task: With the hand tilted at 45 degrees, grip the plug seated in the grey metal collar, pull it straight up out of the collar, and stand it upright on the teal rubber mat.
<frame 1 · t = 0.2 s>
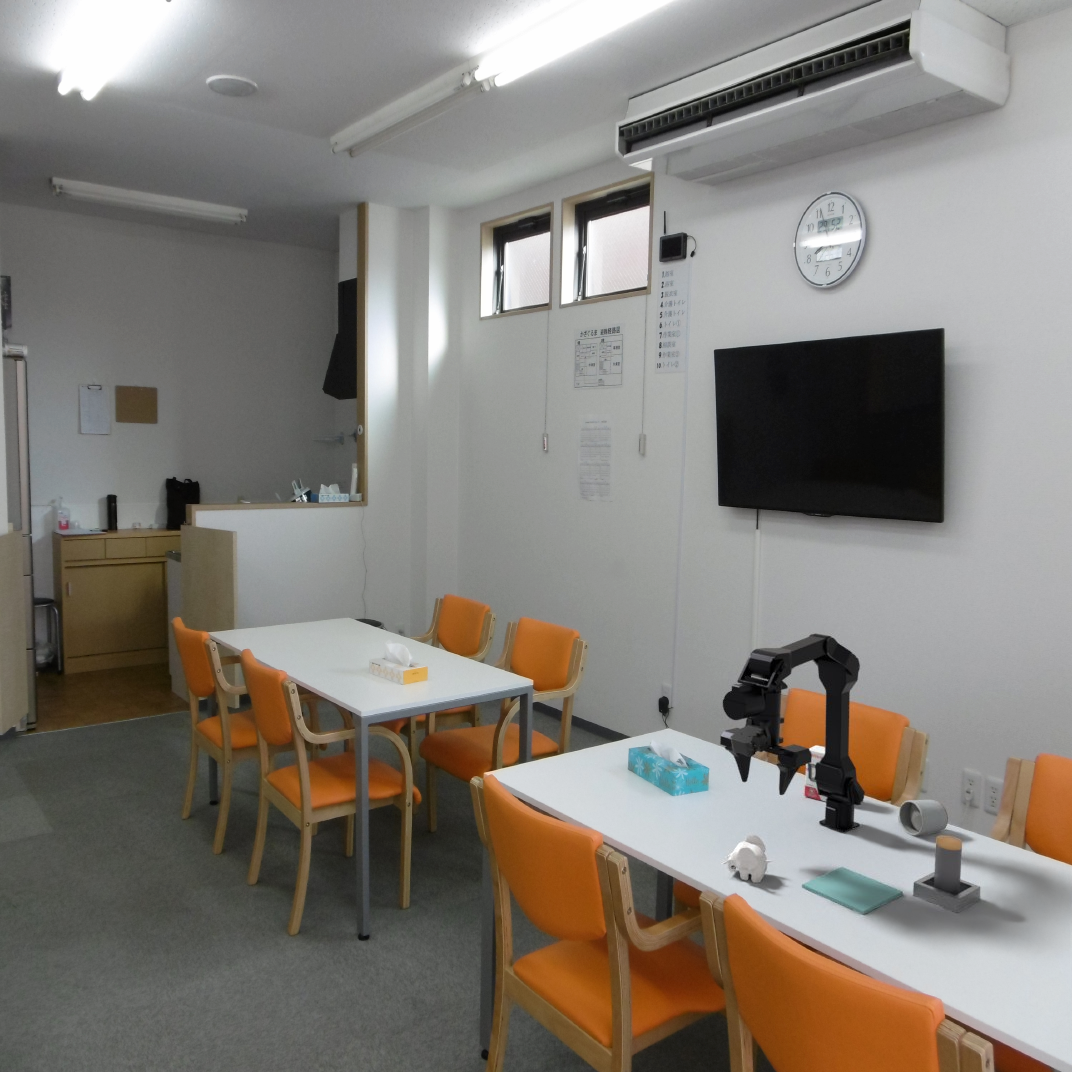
hand: (762, 788, 184), 15 cm above the table, tool pointing down, fingers open, 9 cm apart
teal mat: (852, 890, 171), on the table
collar: (946, 897, 169), on the table
plug: (947, 868, 168), in the collar
ceramic mug: (918, 831, 201), on the table
ink box: (824, 799, 219), on the table
elephant figurine: (746, 876, 177), on the table
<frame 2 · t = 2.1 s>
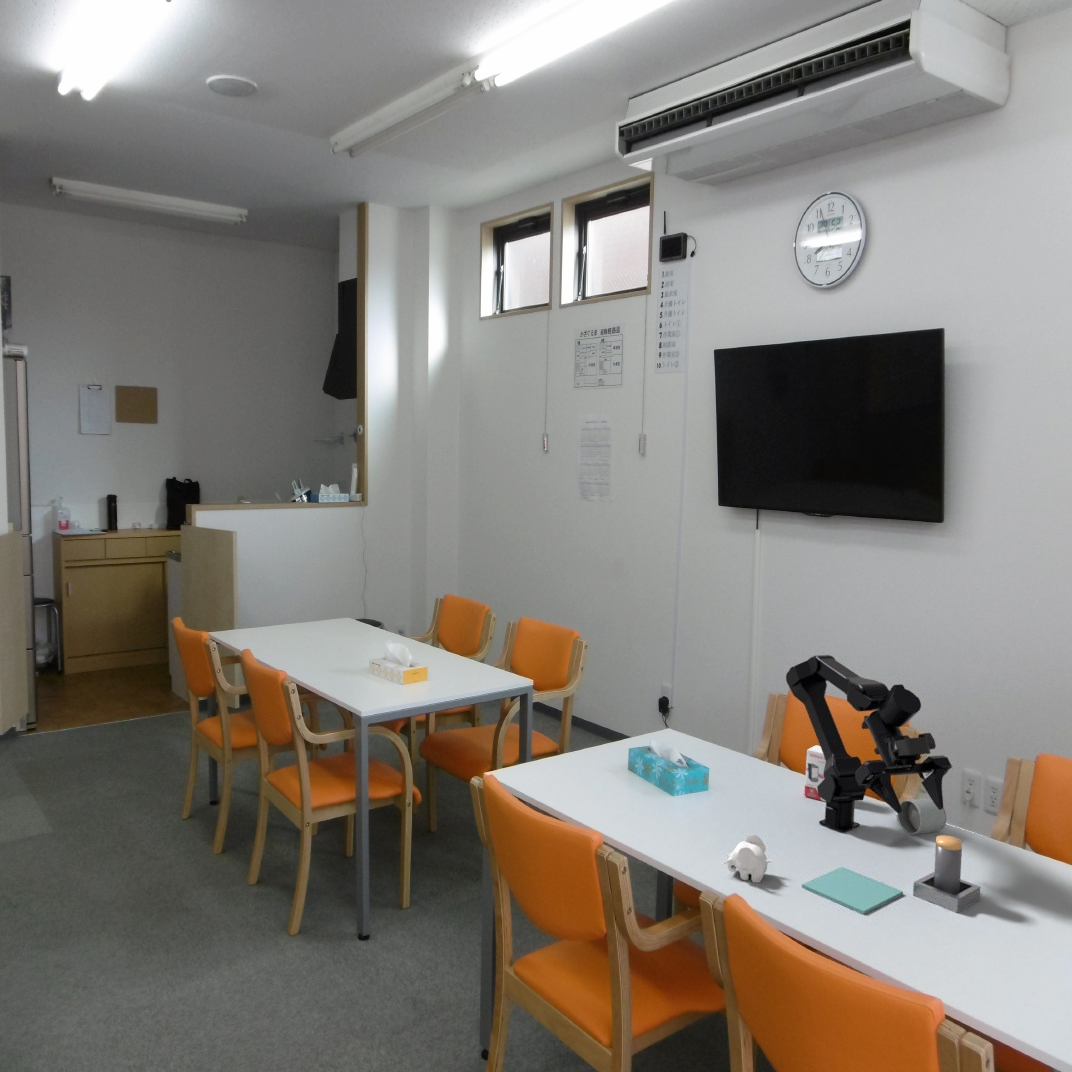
hand: (920, 810, 176), 13 cm above the table, tool tilted 45°, fingers open, 9 cm apart
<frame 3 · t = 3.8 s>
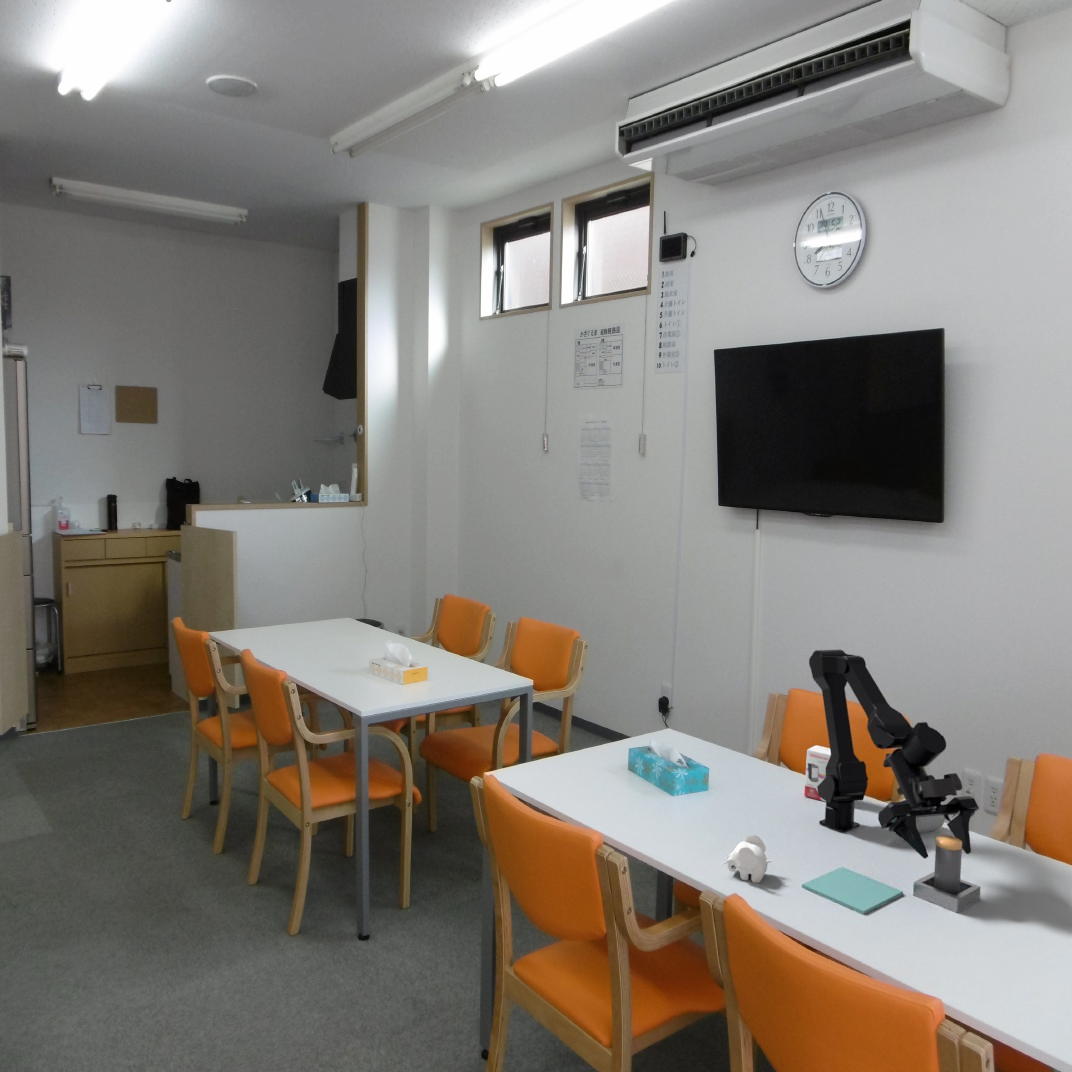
hand: (947, 855, 168), 8 cm above the table, tool tilted 45°, fingers open, 9 cm apart
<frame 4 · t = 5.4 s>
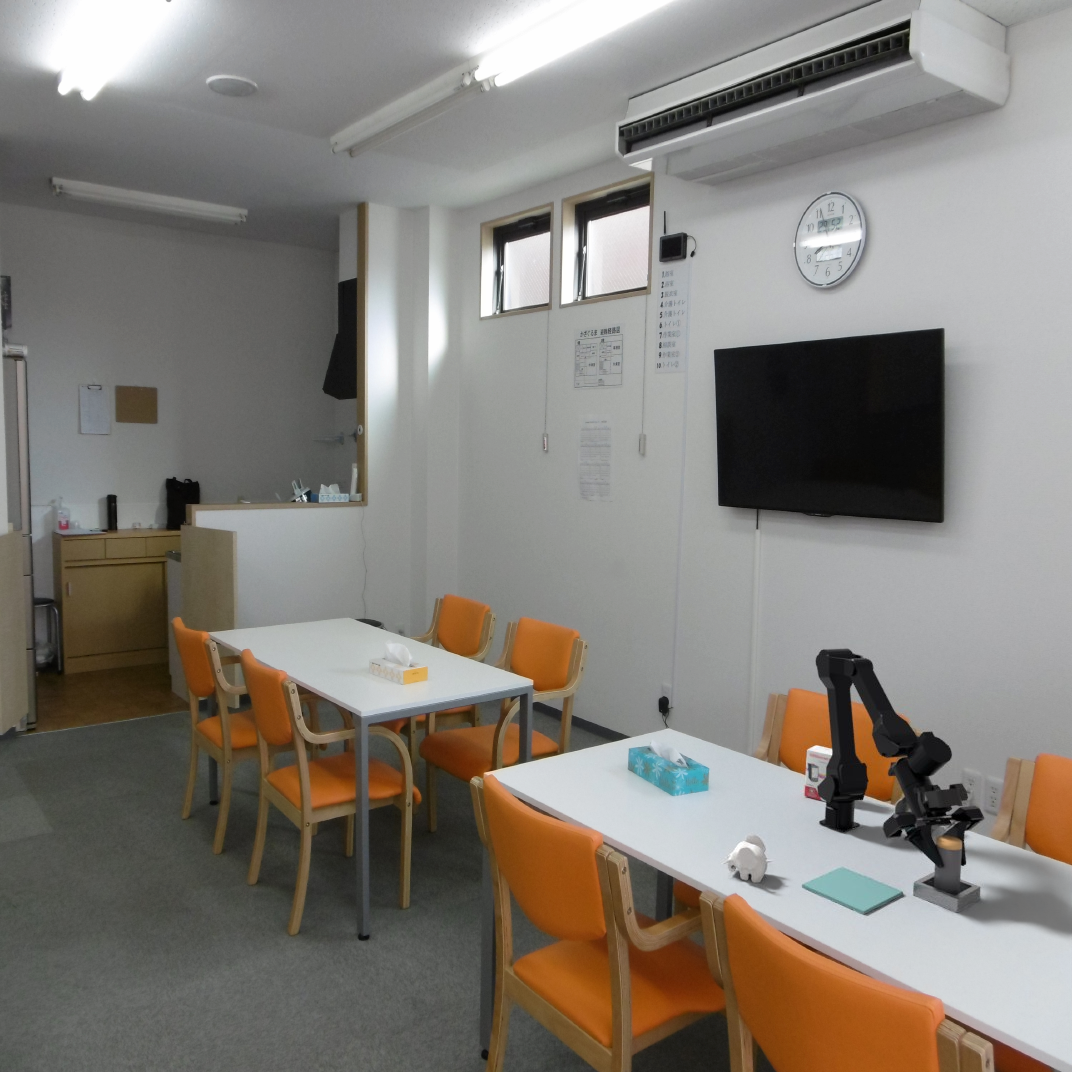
hand: (953, 866, 167), 7 cm above the table, tool tilted 45°, fingers closed on plug, 4 cm apart
plug: (947, 868, 168), in the collar, touching gripper
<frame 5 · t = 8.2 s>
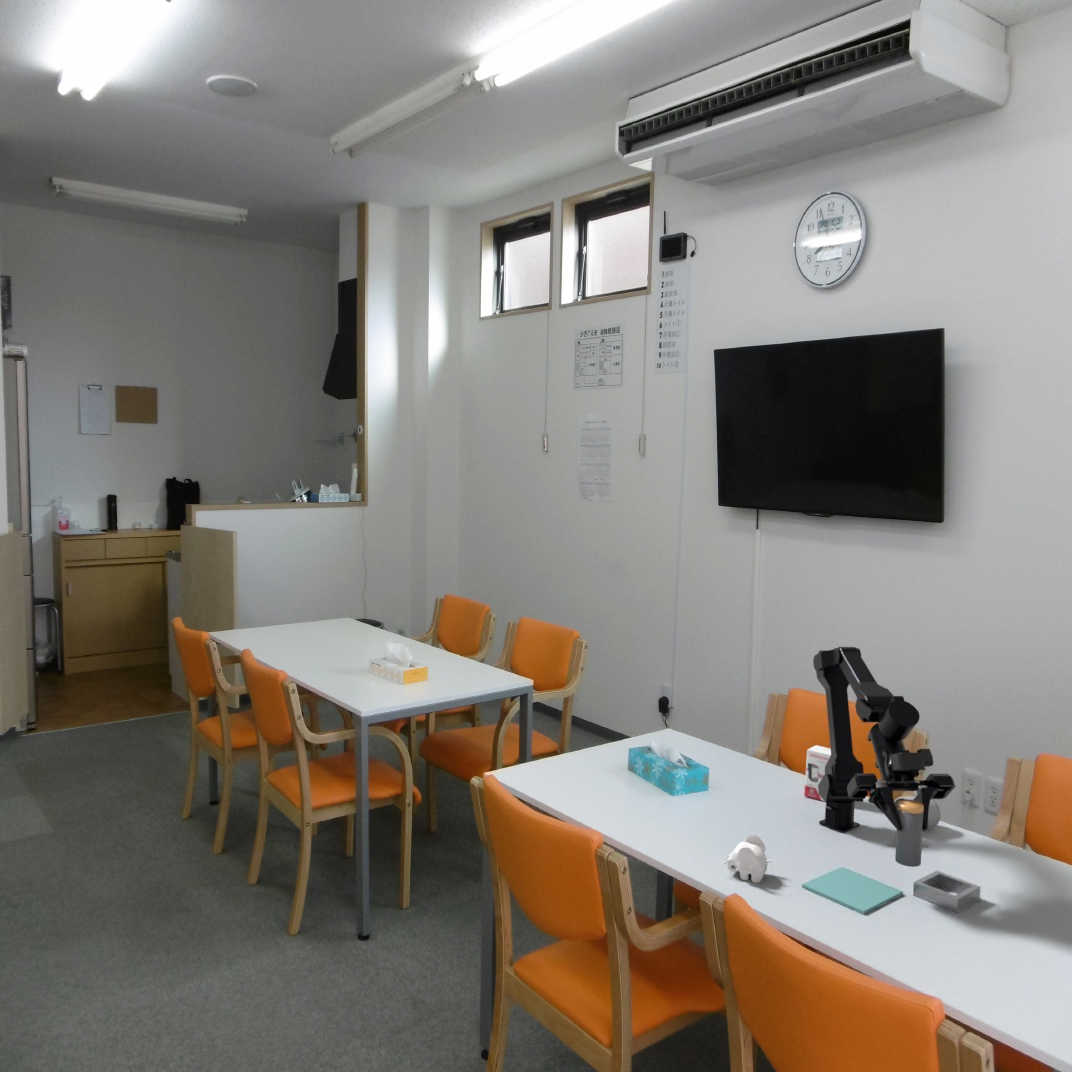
hand: (912, 830, 166), 13 cm above the table, tool tilted 45°, fingers closed on plug, 4 cm apart
plug: (909, 832, 168), point 12 cm above the table, touching gripper
when the fingers open (9 cm above the table, at t = 11.0 s): plug drops 1 cm, resting on teal mat.
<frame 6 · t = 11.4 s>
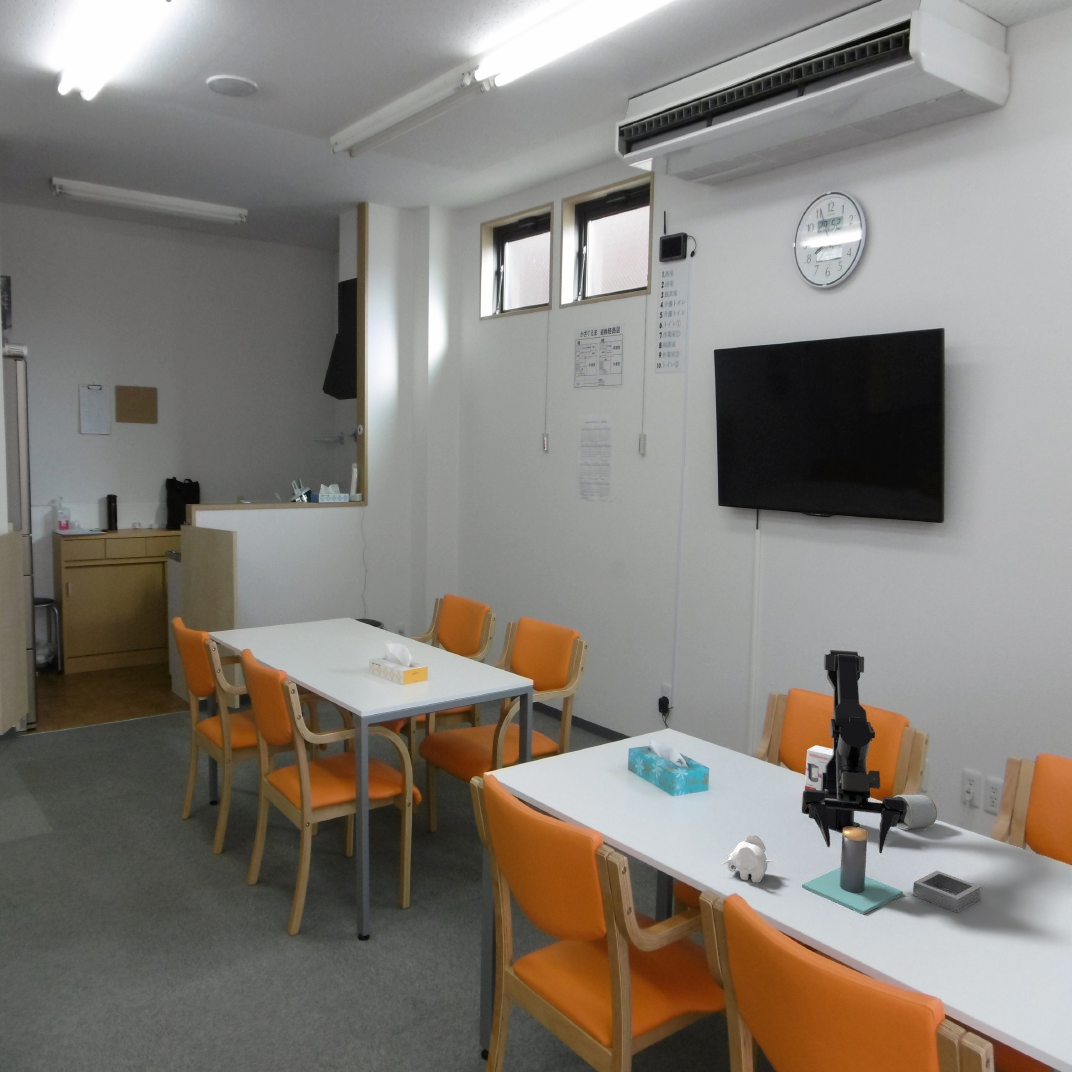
hand: (854, 849, 169), 9 cm above the table, tool tilted 45°, fingers open, 9 cm apart
plug: (853, 859, 170), on the teal mat, point 6 cm above the table
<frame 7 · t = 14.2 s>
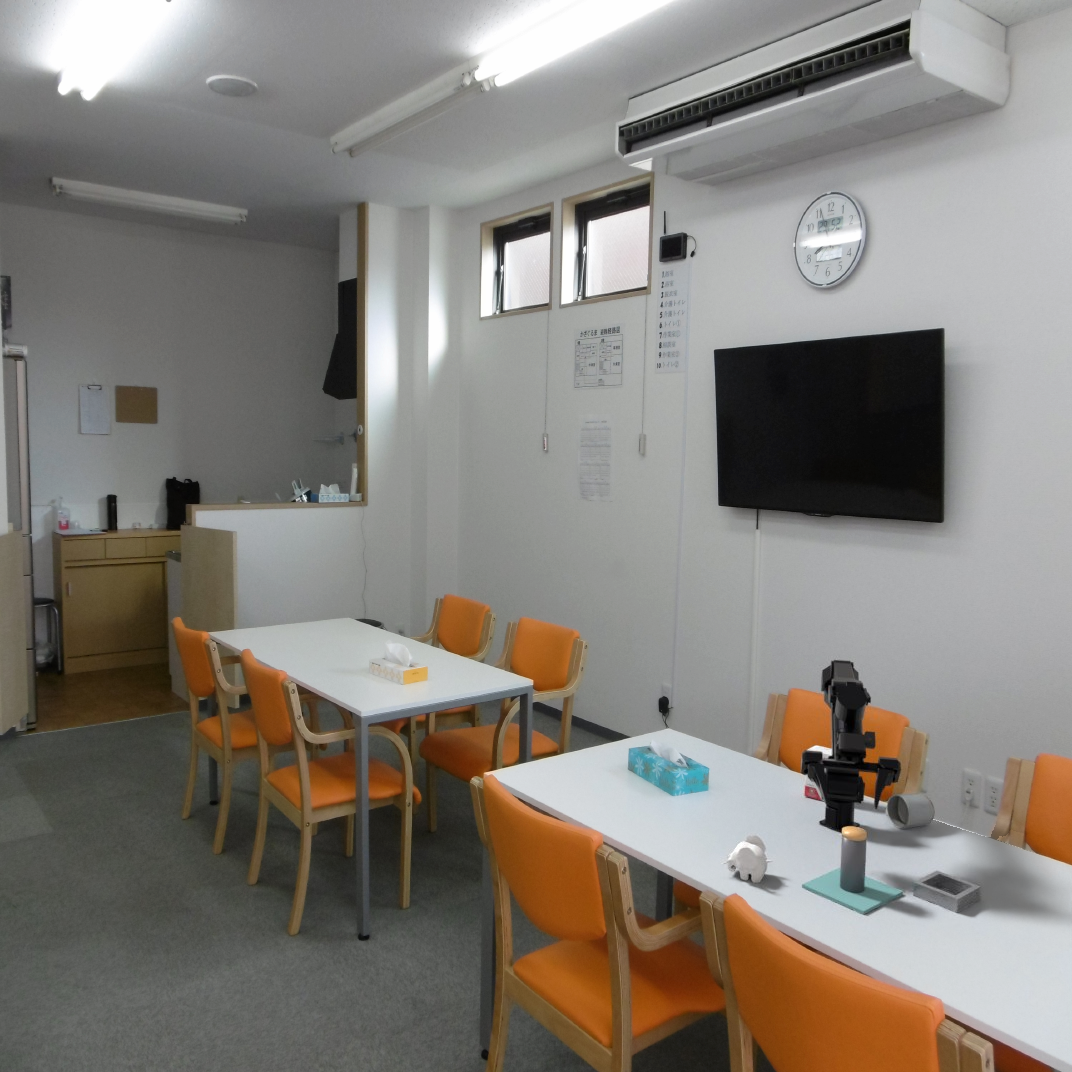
hand: (851, 805, 178), 14 cm above the table, tool tilted 45°, fingers open, 9 cm apart
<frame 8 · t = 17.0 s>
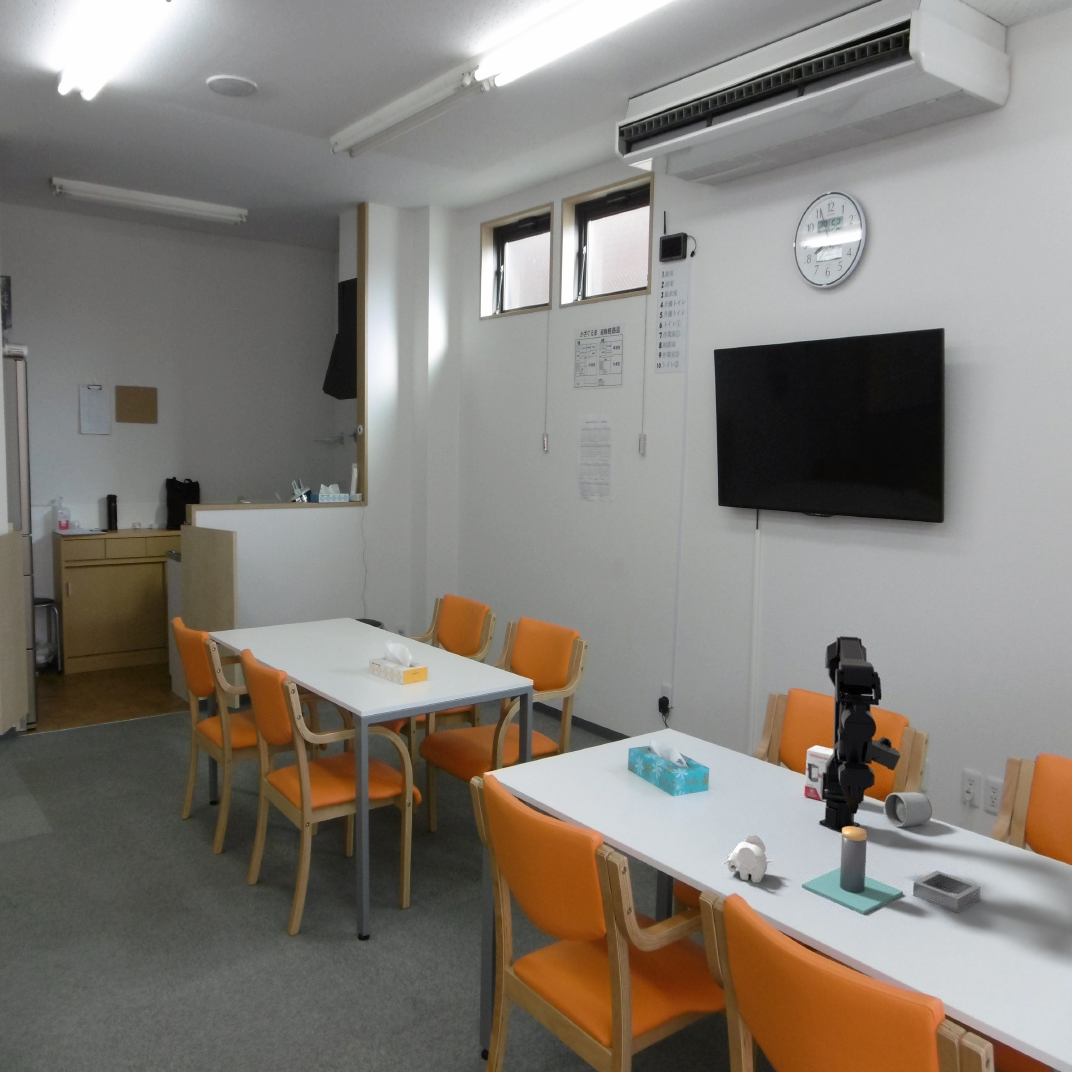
hand: (851, 805, 180), 13 cm above the table, tool pointing down, fingers open, 9 cm apart
at the end: plug inside the target area on the teal mat (0.0 cm from its centre), point 6.1 cm above the teal mat's base; plug tilted 0°; the gripper is holding nothing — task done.
